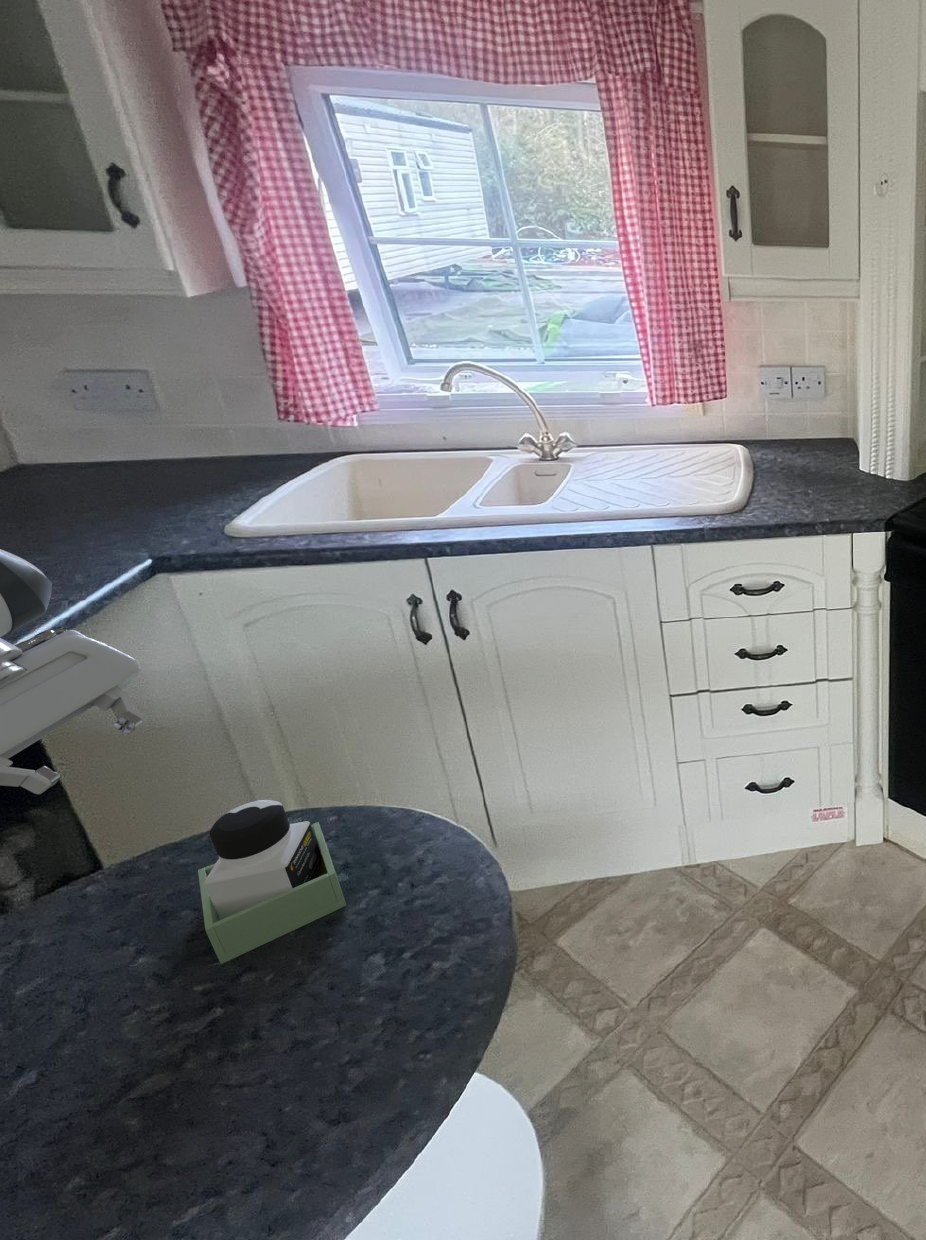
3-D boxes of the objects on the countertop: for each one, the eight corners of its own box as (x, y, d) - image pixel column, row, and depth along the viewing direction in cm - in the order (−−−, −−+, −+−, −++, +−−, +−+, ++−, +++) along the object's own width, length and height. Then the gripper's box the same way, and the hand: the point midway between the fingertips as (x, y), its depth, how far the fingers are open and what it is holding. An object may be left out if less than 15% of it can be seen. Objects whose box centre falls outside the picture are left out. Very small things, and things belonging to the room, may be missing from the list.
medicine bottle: (304, 913, 86) (272, 830, 82) (223, 931, 84) (186, 847, 79) (326, 865, 92) (298, 785, 88) (251, 881, 90) (219, 800, 86)
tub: (220, 964, 81) (205, 930, 80) (212, 902, 88) (197, 869, 86) (346, 905, 89) (335, 873, 87) (329, 852, 95) (318, 821, 94)
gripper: (46, 640, 87) (169, 712, 91) (-196, 760, 68) (-25, 844, 72) (74, 605, 85) (198, 680, 90) (-163, 717, 66) (8, 805, 71)
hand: (97, 754), depth 81 cm, fingers open, 8 cm apart
